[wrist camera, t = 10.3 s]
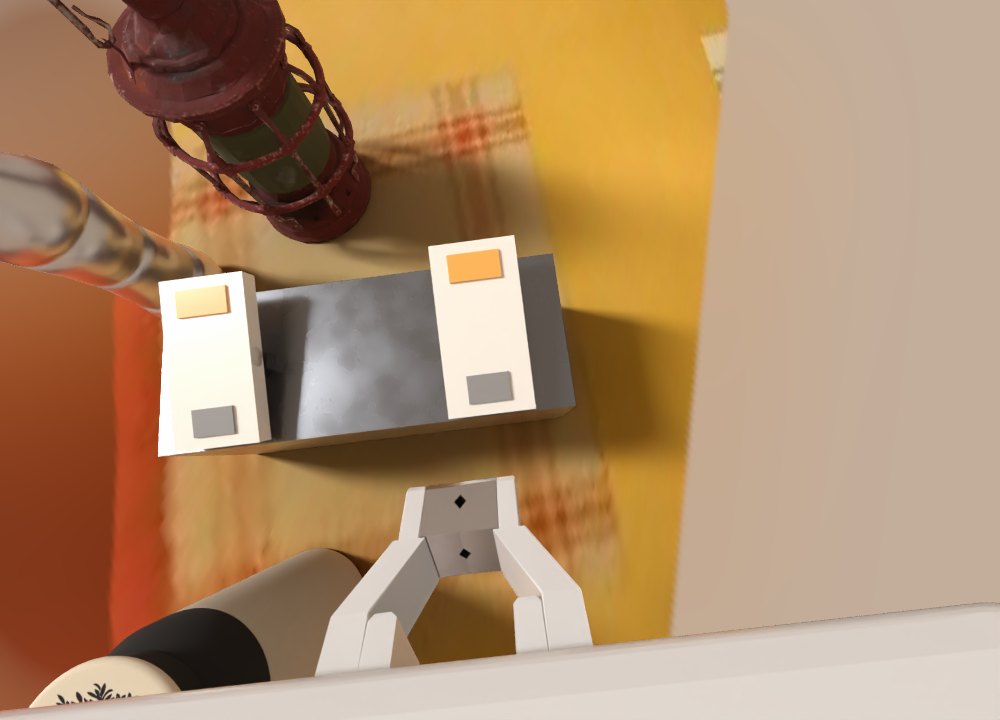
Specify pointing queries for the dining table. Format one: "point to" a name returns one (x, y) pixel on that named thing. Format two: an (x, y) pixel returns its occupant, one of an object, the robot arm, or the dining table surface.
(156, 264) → the silver tall rounded piece
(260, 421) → the block
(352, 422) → the switch box
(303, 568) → the travel mug
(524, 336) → the rocker on
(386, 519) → the dining table surface
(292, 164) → the lantern
